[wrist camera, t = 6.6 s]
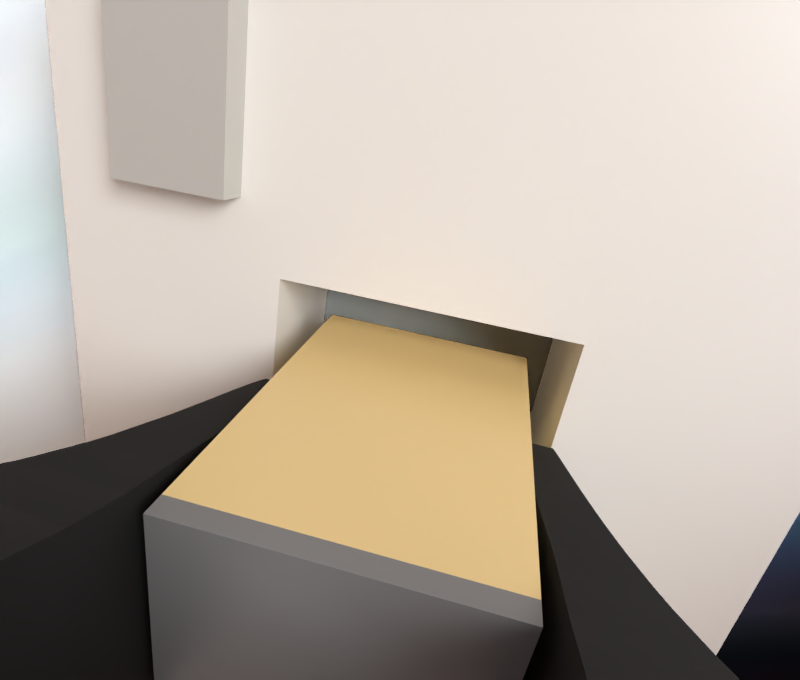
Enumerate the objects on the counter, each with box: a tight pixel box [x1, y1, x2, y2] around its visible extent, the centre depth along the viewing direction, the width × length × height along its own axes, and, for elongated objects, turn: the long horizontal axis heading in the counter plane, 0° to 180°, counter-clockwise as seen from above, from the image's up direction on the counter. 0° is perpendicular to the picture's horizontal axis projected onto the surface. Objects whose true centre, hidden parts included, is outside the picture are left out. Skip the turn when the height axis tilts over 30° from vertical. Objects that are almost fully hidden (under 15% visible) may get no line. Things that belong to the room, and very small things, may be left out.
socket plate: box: [45, 0, 800, 655], centre depth 11 cm, size 14×16×4 cm
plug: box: [143, 315, 543, 680], centre depth 8 cm, size 4×4×6 cm
